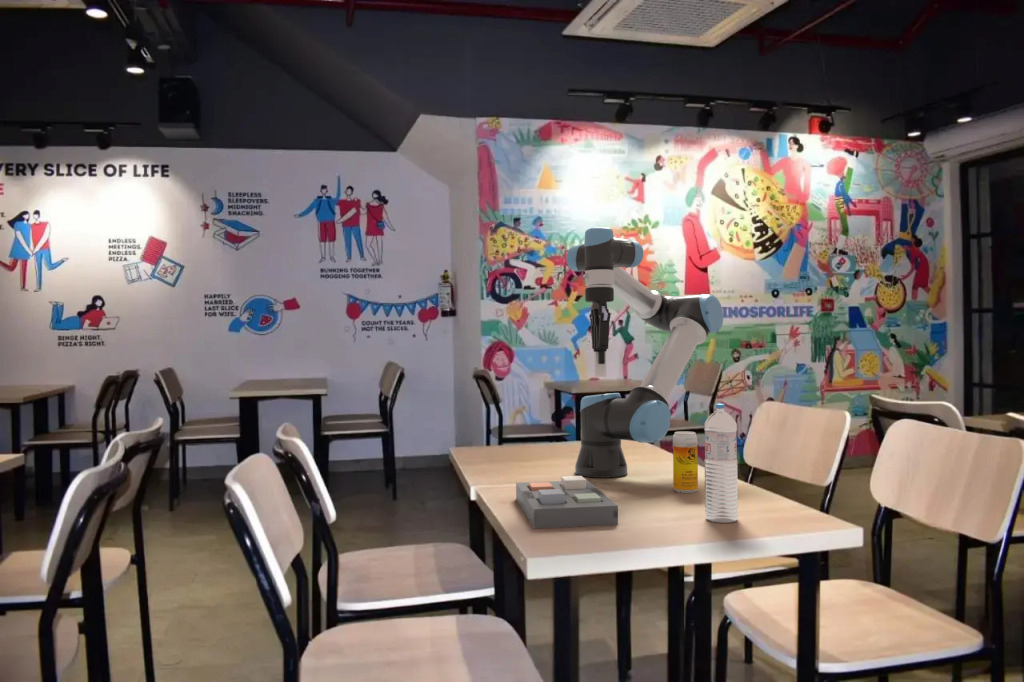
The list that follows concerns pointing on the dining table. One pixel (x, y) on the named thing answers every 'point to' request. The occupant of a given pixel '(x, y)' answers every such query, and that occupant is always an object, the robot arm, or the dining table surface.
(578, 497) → the sage key
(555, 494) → the slate key
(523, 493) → the keypad
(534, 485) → the terracotta key
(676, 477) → the beer can
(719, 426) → the water bottle
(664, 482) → the dining table surface
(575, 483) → the cream key
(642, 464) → the dining table surface
